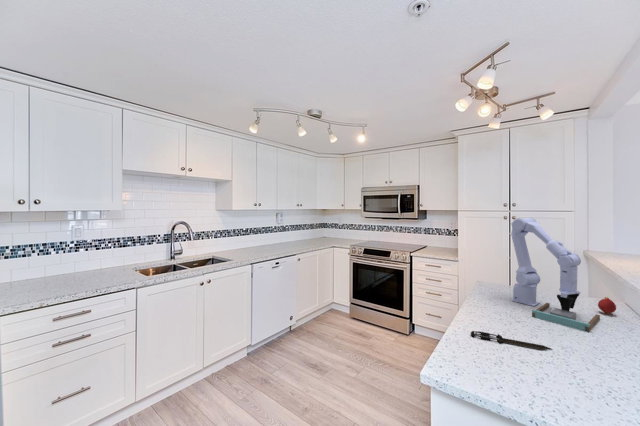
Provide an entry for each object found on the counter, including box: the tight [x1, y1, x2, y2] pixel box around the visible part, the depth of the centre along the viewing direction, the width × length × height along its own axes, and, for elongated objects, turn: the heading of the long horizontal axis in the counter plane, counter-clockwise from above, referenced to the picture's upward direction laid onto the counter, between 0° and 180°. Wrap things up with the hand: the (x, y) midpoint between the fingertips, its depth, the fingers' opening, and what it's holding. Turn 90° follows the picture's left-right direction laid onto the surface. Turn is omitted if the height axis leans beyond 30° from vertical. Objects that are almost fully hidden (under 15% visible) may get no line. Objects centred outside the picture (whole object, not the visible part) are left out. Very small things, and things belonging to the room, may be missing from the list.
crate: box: [549, 307, 577, 321], centre depth 119 cm, size 7×8×4 cm
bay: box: [531, 302, 601, 333], centre depth 122 cm, size 19×20×3 cm
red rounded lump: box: [597, 296, 617, 315], centre depth 126 cm, size 6×6×8 cm
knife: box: [470, 330, 553, 351], centre depth 101 cm, size 25×6×1 cm, turn 57°
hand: (567, 309), depth 124 cm, fingers open, 7 cm apart
